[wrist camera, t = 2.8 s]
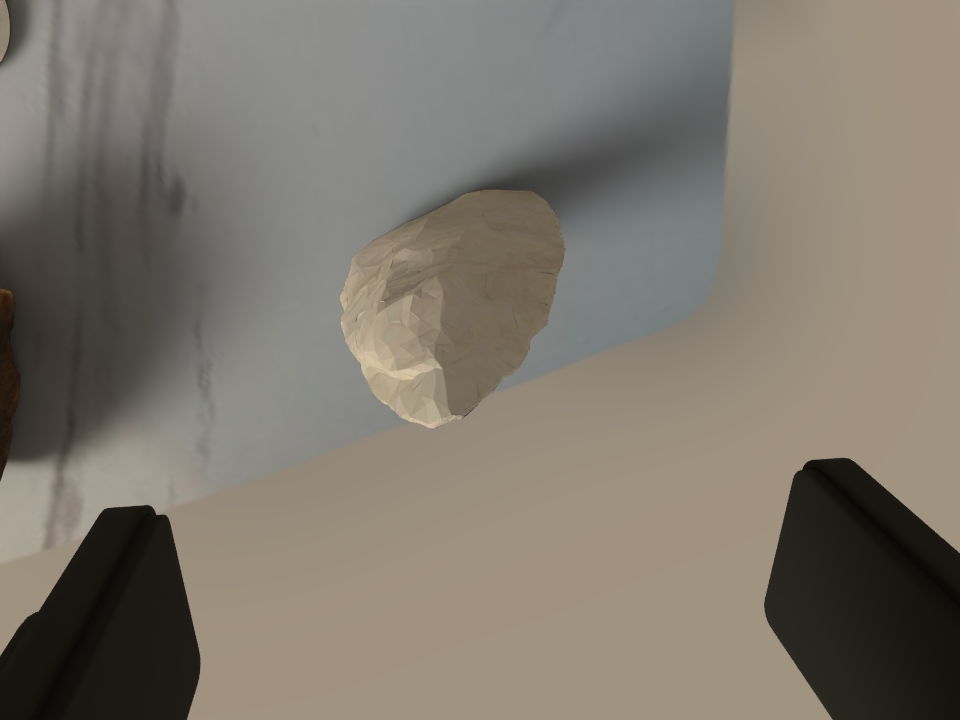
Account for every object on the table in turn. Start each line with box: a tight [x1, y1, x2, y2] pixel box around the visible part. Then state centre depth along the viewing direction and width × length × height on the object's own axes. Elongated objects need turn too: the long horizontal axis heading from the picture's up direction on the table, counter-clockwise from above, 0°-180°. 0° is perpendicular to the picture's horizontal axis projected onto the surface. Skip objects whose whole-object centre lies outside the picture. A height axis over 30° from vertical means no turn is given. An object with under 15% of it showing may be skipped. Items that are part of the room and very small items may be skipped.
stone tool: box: [339, 190, 565, 429], centre depth 21 cm, size 8×3×15 cm, turn 114°
